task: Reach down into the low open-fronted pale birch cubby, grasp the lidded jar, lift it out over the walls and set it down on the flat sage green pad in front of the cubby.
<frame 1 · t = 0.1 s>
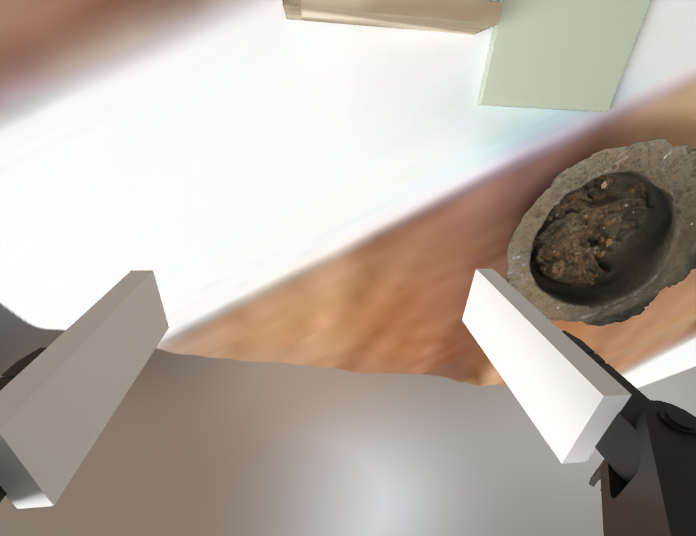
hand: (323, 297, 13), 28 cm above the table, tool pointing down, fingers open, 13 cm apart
stone bowl: (567, 227, 45), on the table
pad: (565, 24, 33), on the table
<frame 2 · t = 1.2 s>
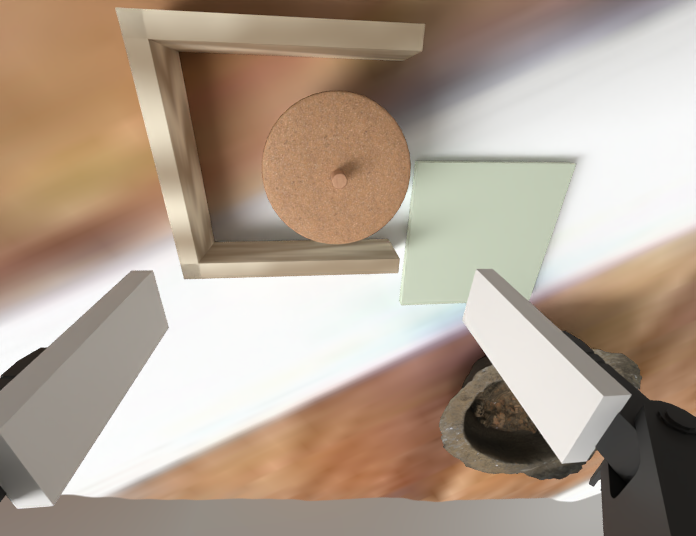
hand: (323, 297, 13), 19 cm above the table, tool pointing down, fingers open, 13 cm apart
stone bowl: (506, 379, 46), on the table
lidded jar: (332, 159, 29), on the table
pad: (476, 237, 34), on the table
cubby: (332, 160, 29), on the table
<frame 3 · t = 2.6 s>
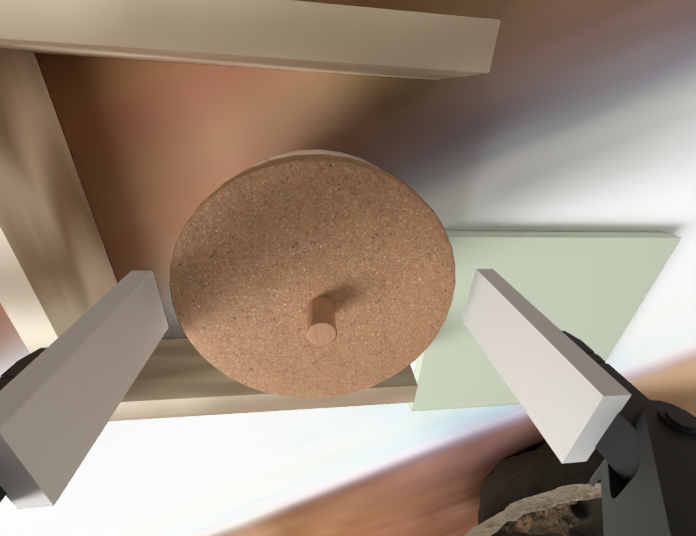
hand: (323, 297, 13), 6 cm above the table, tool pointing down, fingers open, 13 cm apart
stone bowl: (535, 473, 37), on the table
lidded jar: (316, 228, 19), on the table
pad: (521, 326, 24), on the table
cubby: (316, 230, 18), on the table
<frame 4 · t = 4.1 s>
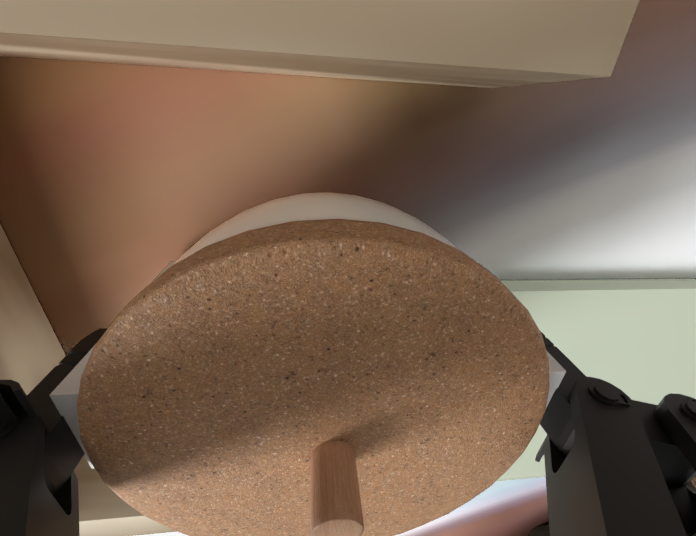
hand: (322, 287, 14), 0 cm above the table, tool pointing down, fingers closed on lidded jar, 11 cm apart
lidded jar: (322, 280, 14), on the table, touching gripper
pad: (573, 388, 20), on the table
cubby: (322, 282, 14), on the table
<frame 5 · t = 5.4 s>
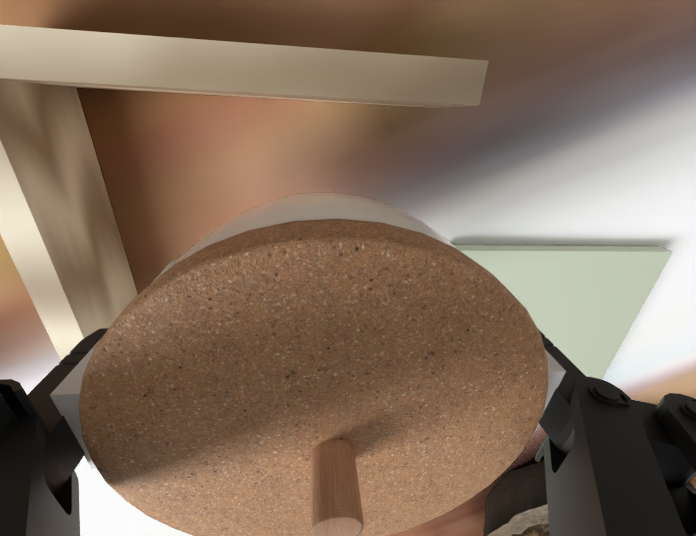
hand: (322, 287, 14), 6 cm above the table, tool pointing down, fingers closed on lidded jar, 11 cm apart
stone bowl: (541, 488, 36), on the table
lidded jar: (322, 279, 14), point 6 cm above the table, touching gripper
pad: (521, 337, 25), on the table
cubby: (323, 243, 20), on the table
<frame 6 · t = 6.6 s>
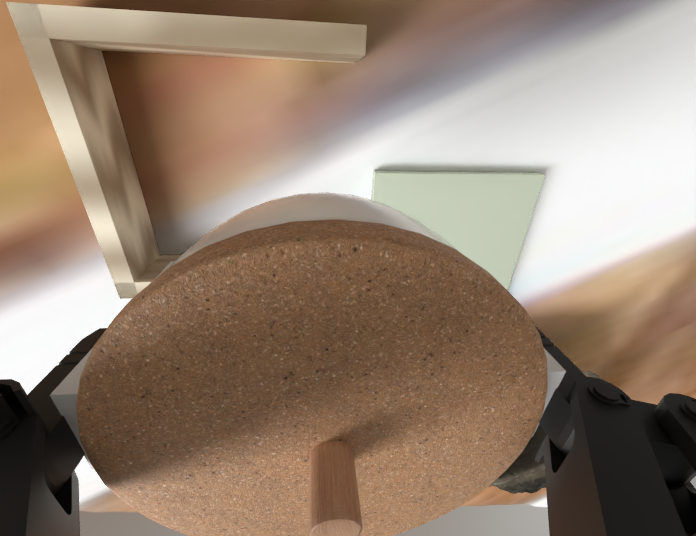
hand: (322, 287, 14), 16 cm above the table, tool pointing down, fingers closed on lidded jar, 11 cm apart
stone bowl: (480, 391, 45), on the table
lidded jar: (321, 280, 14), point 16 cm above the table, touching gripper
pad: (443, 250, 32), on the table
cubby: (282, 169, 27), on the table
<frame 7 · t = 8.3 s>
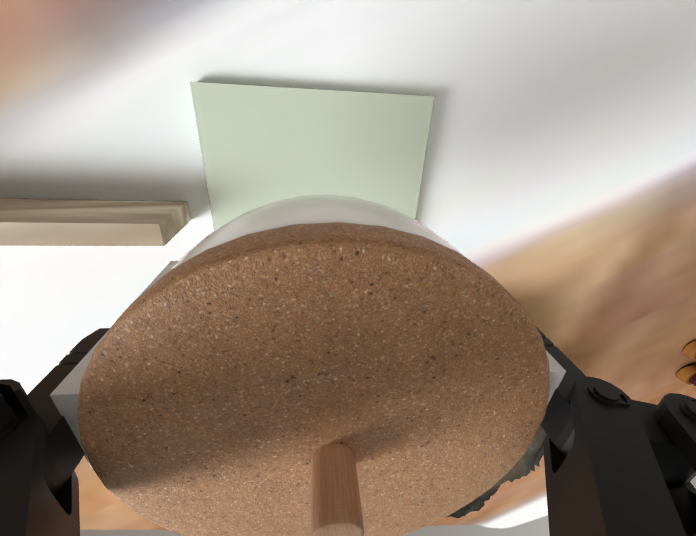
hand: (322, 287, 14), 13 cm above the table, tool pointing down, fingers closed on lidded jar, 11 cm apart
stone bowl: (400, 392, 37), on the table
lidded jar: (322, 281, 14), point 12 cm above the table, touching gripper
pad: (317, 204, 25), on the table
cubby: (61, 74, 19), on the table
when the fingers open (3 cm above the table, at t = 10.9 s): lidded jar drops 1 cm, resting on pad.
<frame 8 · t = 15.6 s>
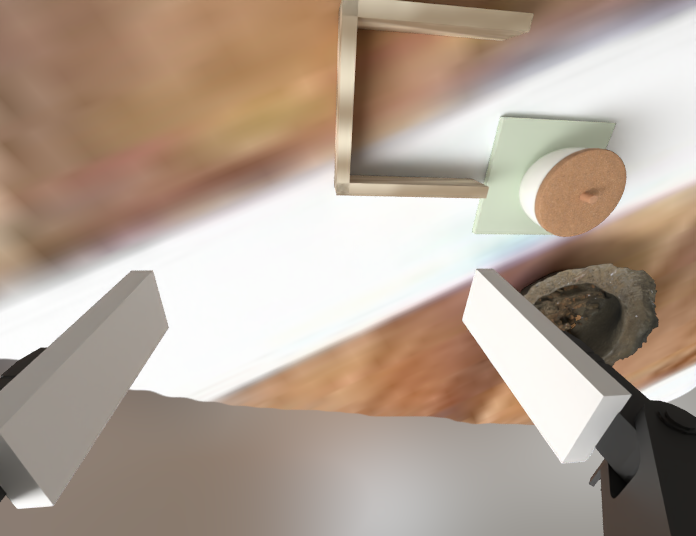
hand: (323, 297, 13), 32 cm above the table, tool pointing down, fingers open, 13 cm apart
stone bowl: (544, 307, 57), on the table
lidded jar: (540, 181, 44), point 1 cm above the table, touching pad
pad: (536, 180, 45), on the table
cubby: (441, 113, 39), on the table
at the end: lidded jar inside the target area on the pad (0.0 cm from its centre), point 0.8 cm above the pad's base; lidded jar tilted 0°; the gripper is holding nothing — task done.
